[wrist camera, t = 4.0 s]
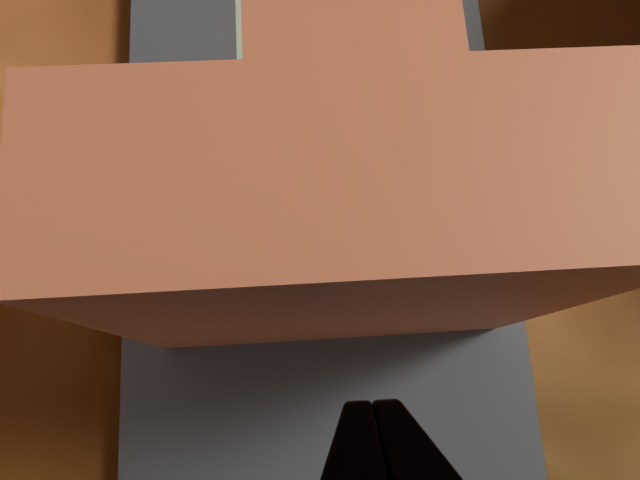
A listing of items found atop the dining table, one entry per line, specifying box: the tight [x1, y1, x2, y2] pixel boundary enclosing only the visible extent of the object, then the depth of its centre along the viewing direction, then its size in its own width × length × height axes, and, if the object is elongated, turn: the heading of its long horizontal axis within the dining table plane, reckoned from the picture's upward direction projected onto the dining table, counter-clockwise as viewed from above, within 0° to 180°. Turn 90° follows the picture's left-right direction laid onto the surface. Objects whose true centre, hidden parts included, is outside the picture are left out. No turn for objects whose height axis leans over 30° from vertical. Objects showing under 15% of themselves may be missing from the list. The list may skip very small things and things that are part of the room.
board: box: [118, 0, 547, 480], centre depth 16 cm, size 20×11×1 cm, turn 3°
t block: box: [0, 0, 640, 349], centre depth 12 cm, size 8×9×9 cm
